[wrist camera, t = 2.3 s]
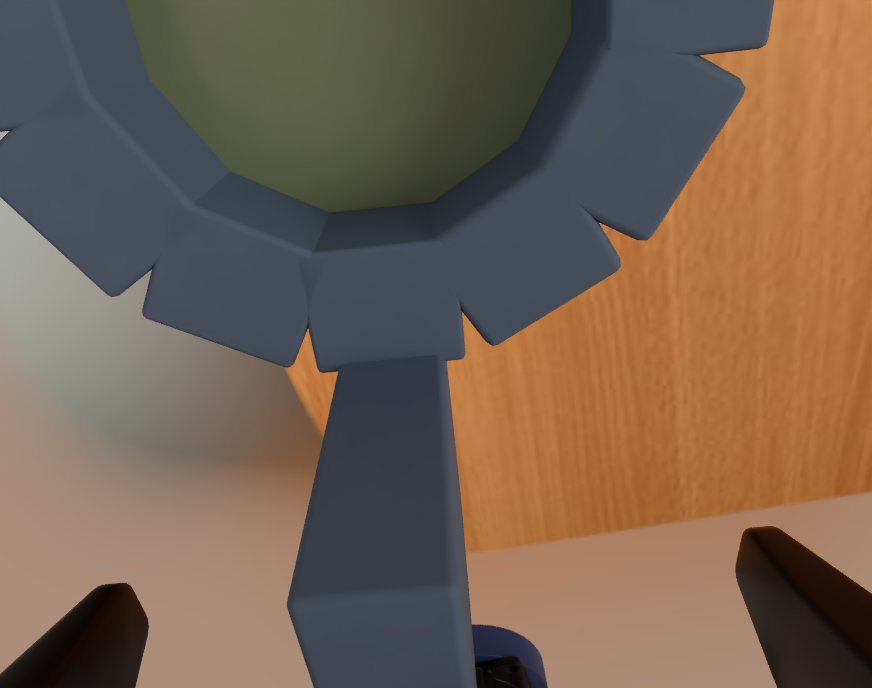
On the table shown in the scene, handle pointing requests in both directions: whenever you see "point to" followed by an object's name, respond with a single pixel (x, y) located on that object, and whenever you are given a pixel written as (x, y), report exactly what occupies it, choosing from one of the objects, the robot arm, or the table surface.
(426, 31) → the pedestal
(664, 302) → the table surface
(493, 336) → the ring
